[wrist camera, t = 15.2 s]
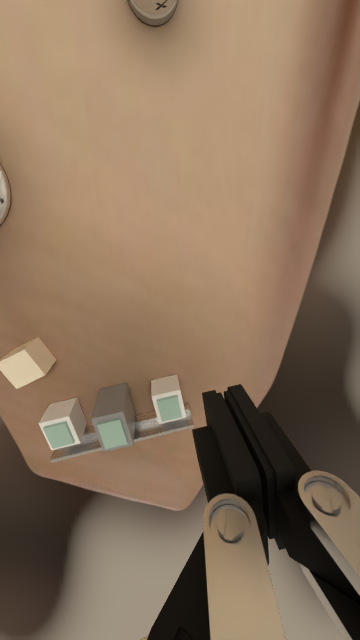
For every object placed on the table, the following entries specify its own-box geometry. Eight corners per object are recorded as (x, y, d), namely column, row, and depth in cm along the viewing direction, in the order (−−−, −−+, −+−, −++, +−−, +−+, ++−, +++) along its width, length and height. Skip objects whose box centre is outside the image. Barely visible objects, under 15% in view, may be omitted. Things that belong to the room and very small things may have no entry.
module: (100, 388, 45) (90, 421, 37) (126, 382, 45) (122, 413, 37) (110, 418, 47) (103, 454, 39) (135, 412, 48) (133, 447, 40)
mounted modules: (49, 403, 45) (36, 426, 39) (176, 374, 46) (180, 391, 41) (61, 429, 47) (50, 453, 41) (182, 399, 48) (186, 419, 43)
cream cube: (12, 349, 41) (-6, 364, 36) (38, 336, 40) (24, 349, 36) (31, 372, 42) (16, 389, 38) (56, 360, 42) (45, 375, 38)
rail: (57, 434, 47) (47, 456, 42) (188, 402, 49) (192, 420, 44) (61, 441, 48) (51, 464, 43) (189, 410, 49) (194, 428, 44)
